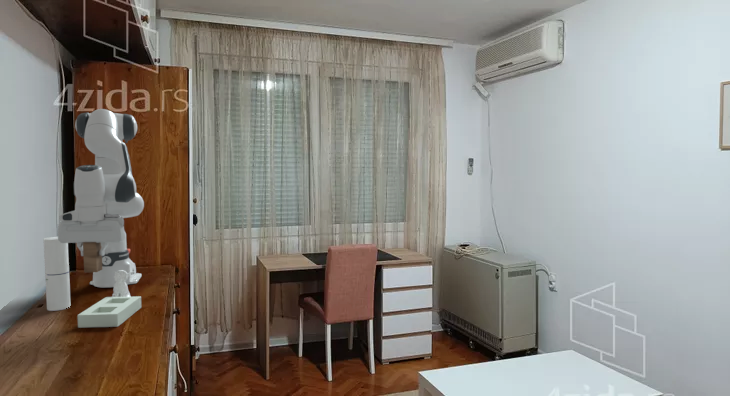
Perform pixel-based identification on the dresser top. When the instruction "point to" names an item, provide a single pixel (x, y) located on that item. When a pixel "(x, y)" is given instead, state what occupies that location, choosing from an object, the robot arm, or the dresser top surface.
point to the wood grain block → (92, 257)
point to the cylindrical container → (56, 274)
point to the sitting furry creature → (121, 284)
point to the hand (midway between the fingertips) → (93, 255)
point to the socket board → (109, 312)
